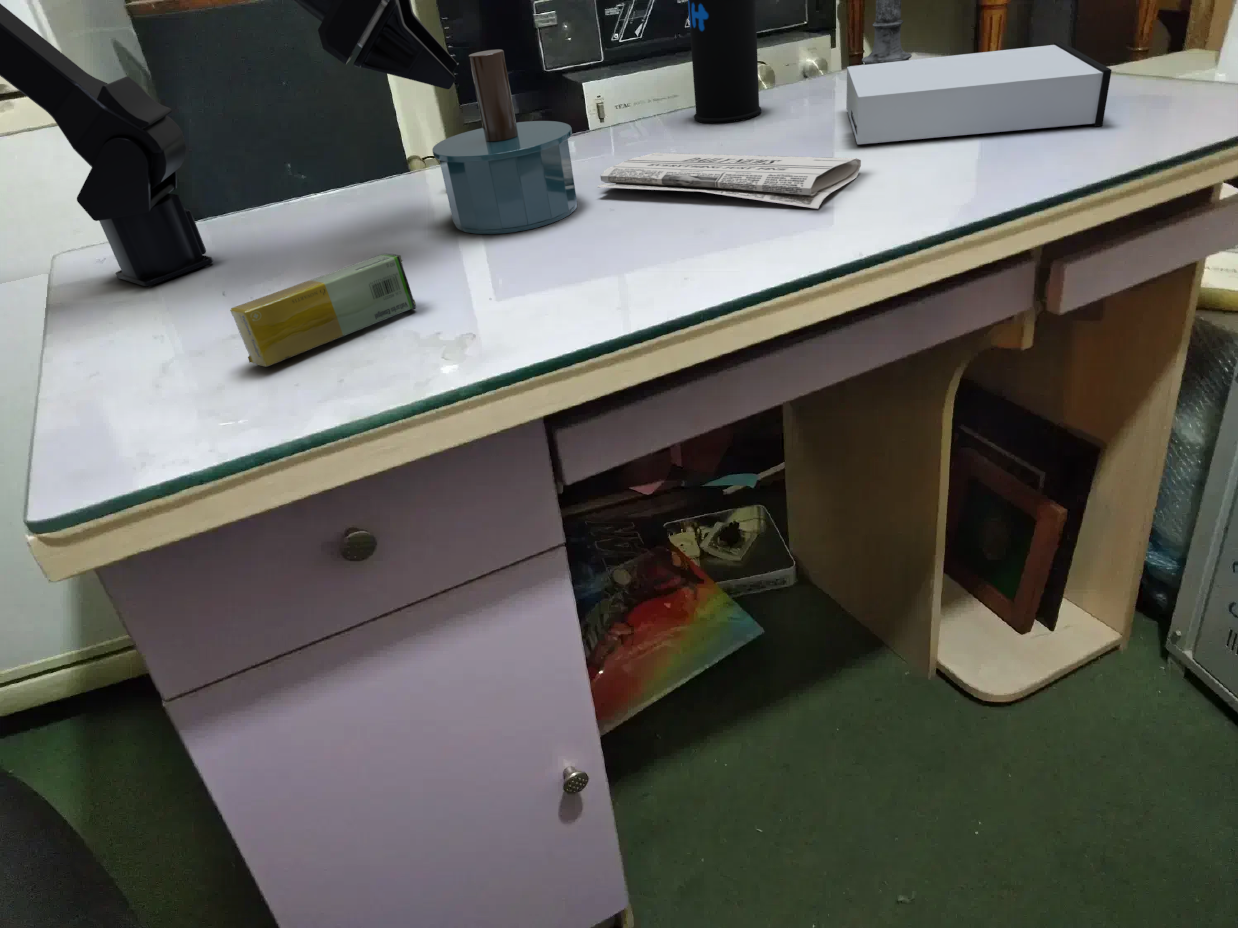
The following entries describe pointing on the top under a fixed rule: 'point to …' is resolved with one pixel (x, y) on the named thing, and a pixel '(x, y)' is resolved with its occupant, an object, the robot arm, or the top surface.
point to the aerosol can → (724, 59)
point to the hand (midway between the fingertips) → (453, 76)
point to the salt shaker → (887, 34)
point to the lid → (498, 120)
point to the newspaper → (737, 176)
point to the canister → (511, 191)
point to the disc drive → (976, 94)
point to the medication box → (323, 309)
